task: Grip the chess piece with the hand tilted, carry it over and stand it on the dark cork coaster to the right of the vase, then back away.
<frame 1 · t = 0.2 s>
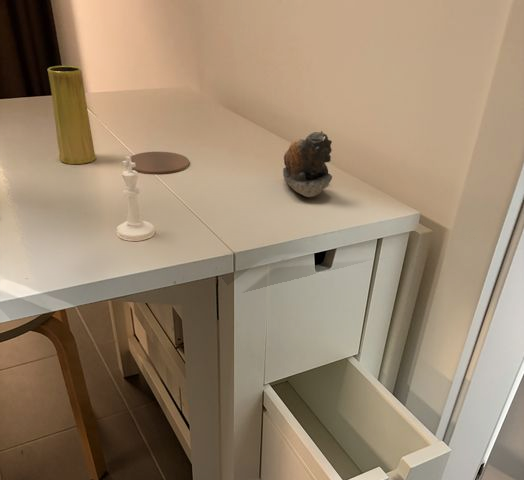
coaster: (157, 163, 96), on the table
vase: (78, 160, 97), on the table
bison figurine: (304, 191, 89), on the table
chess piece: (136, 234, 74), on the table
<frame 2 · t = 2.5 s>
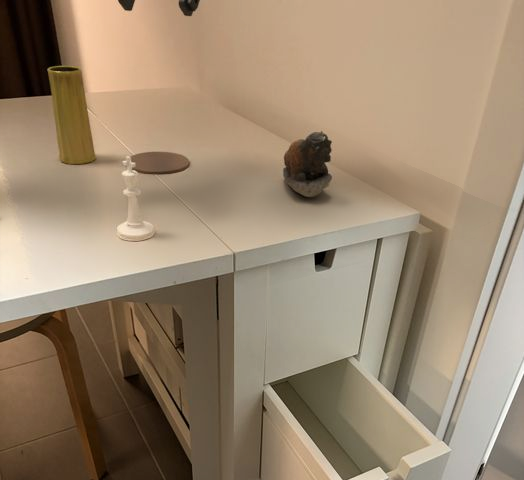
hand: (153, 8, 66), 25 cm above the table, tool tilted 40°, fingers open, 8 cm apart
nothing on the table moved.
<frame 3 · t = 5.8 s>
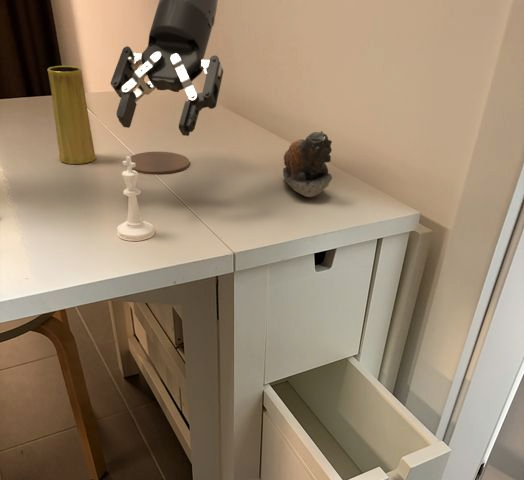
hand: (153, 128, 72), 12 cm above the table, tool tilted 45°, fingers open, 8 cm apart
nothing on the table moved.
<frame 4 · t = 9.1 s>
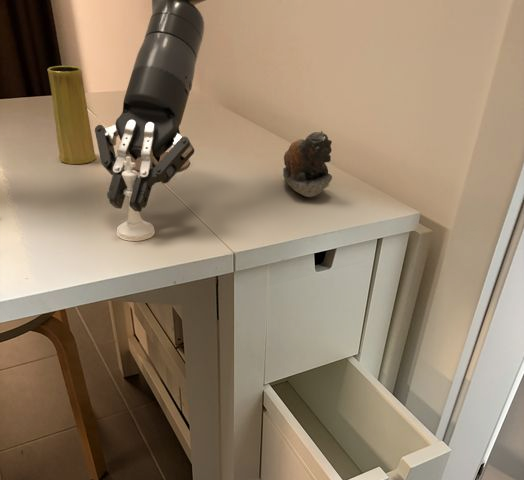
hand: (125, 206, 69), 4 cm above the table, tool tilted 45°, fingers closed on chess piece
chess piece: (136, 234, 74), on the table, touching gripper
everything else where it was.
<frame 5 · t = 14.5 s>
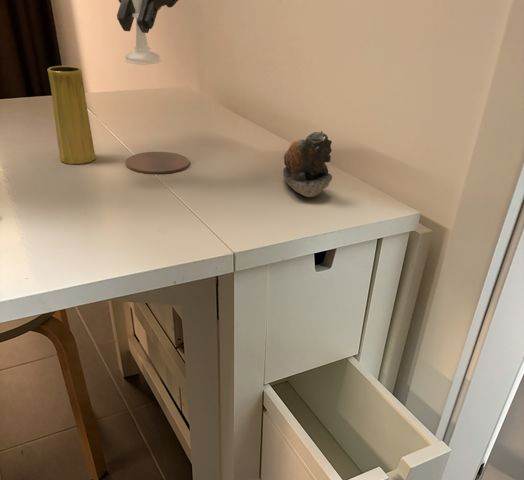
hand: (133, 27, 74), 22 cm above the table, tool tilted 45°, fingers closed on chess piece
chess piece: (143, 62, 79), point 17 cm above the table, touching gripper
everything else where it was.
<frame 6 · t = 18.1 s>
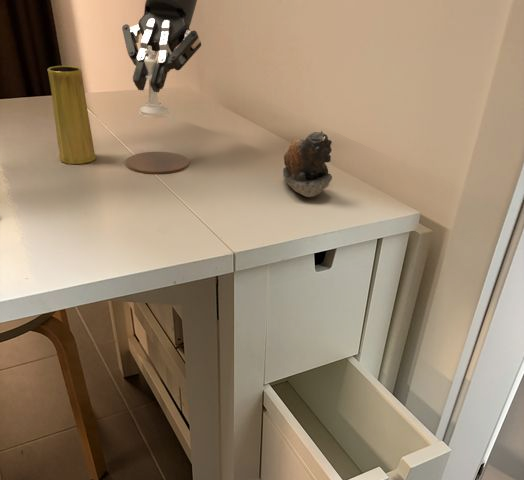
hand: (146, 87, 87), 13 cm above the table, tool tilted 45°, fingers closed on chess piece
chess piece: (154, 115, 92), point 8 cm above the table, touching gripper
everything else where it was.
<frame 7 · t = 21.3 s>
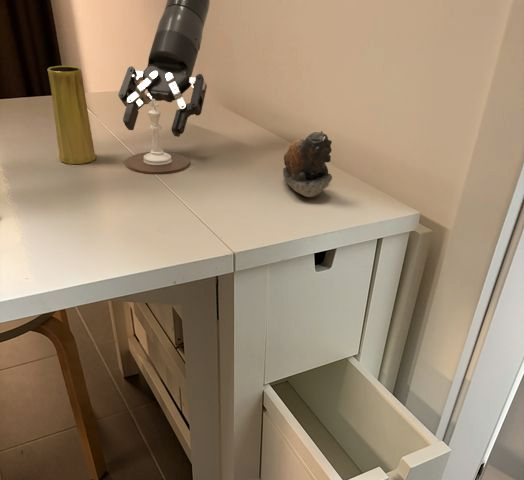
hand: (151, 130, 92), 6 cm above the table, tool tilted 45°, fingers open, 8 cm apart
chess piece: (157, 161, 96), resting on coaster
everything else where it was.
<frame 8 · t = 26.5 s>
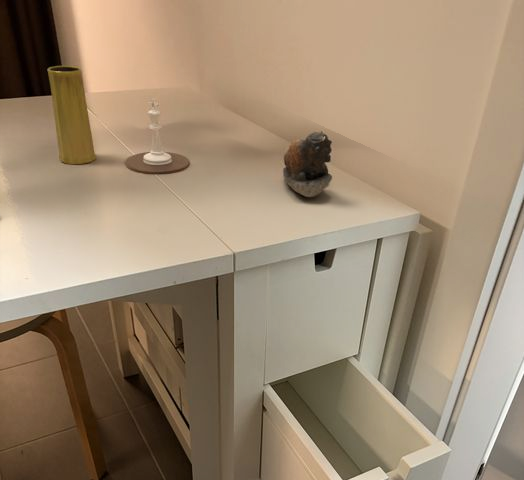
nothing on the table moved.
at the end: chess piece inside the target area on the table beside the vase (0.2 cm from its centre), resting on coaster; chess piece tilted 0°; vase moved 0.2 cm from its start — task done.
